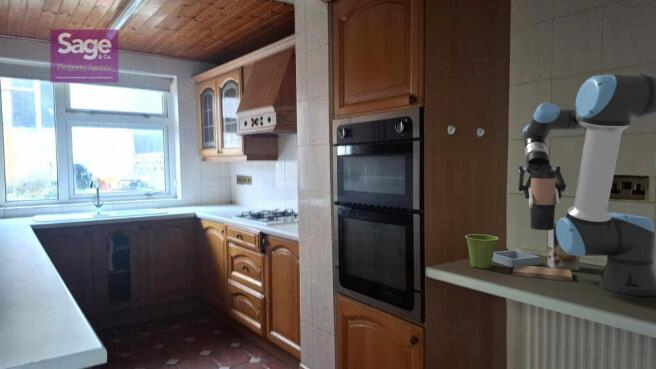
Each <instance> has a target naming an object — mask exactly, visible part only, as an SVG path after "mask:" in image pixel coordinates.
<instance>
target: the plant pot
mask: <svg viewBox="0 0 656 369" xmlns="http://www.w3.org/2000/svg"><path fill="white" fill-rule="evenodd" d="M464 237H465V239H466V244H467V247H468V254H469V255H468V256H469V262H470V266H472V267H473V268H476V267H477V268H478V269H489V268H491V267H492V263H493V261H492V259H493V254H494V252H495V248H496V245H497V241H498V240H499V237H497V236H494V235H490V234H481V233H480V234H479V233H478V234H477V233H475V234H472V233H471V234H466V235H465V236H464Z"/></svg>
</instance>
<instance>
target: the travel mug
mask: <svg viewBox="0 0 656 369" xmlns="http://www.w3.org/2000/svg"><path fill="white" fill-rule="evenodd" d="M555 174H556V172H555V171H531V186H530V188H531V191H532V198H533V205H532V207H530V228H531V229H532V230H537V231H549V230H553V229H554V223H555V214H556V212H555V210H556V205H555V180H556V177H555Z"/></svg>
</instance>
